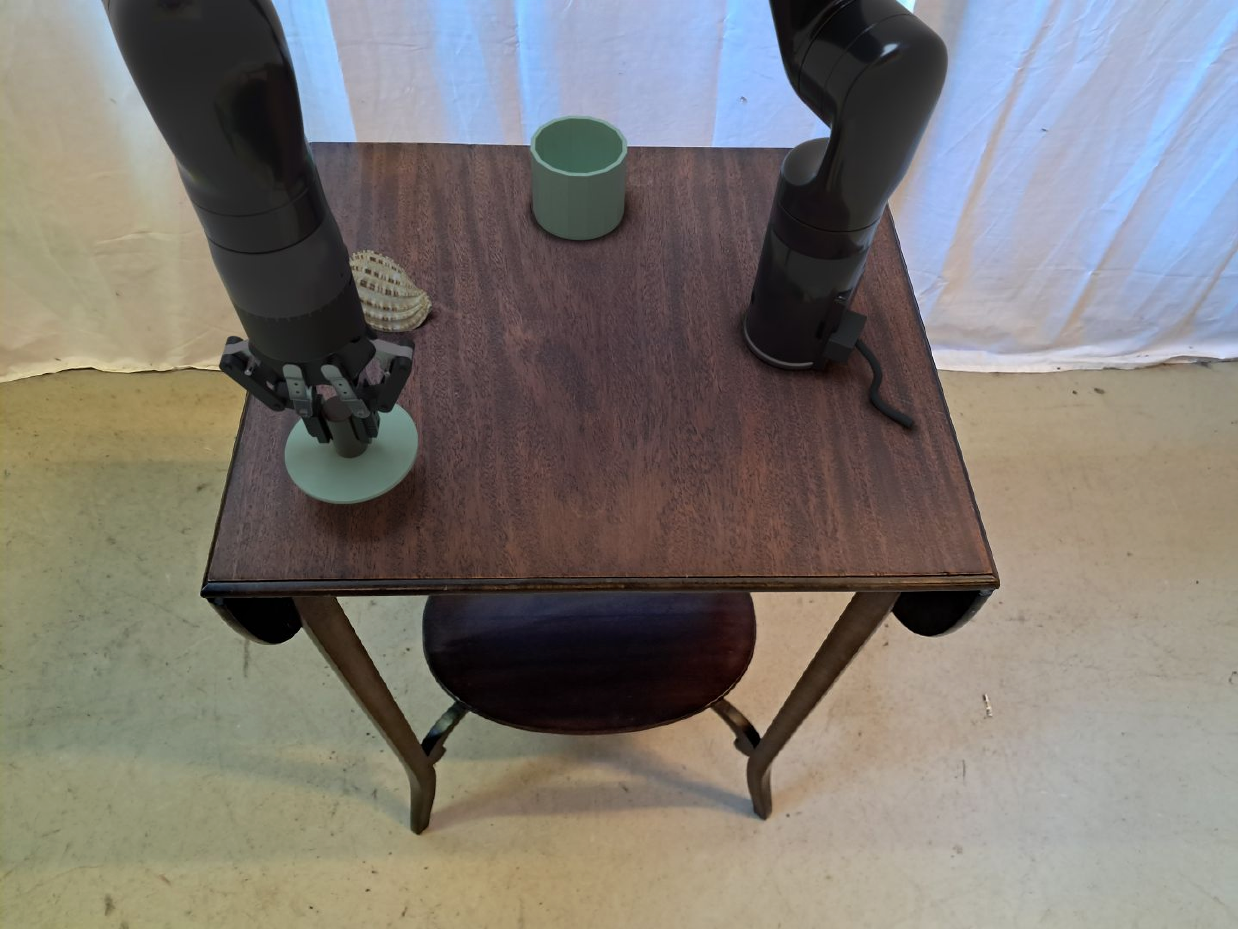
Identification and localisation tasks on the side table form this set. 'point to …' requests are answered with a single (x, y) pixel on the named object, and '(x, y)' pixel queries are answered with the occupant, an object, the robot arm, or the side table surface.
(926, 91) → the robot arm
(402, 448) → the lid
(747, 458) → the side table surface
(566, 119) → the pot
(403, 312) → the seashell
